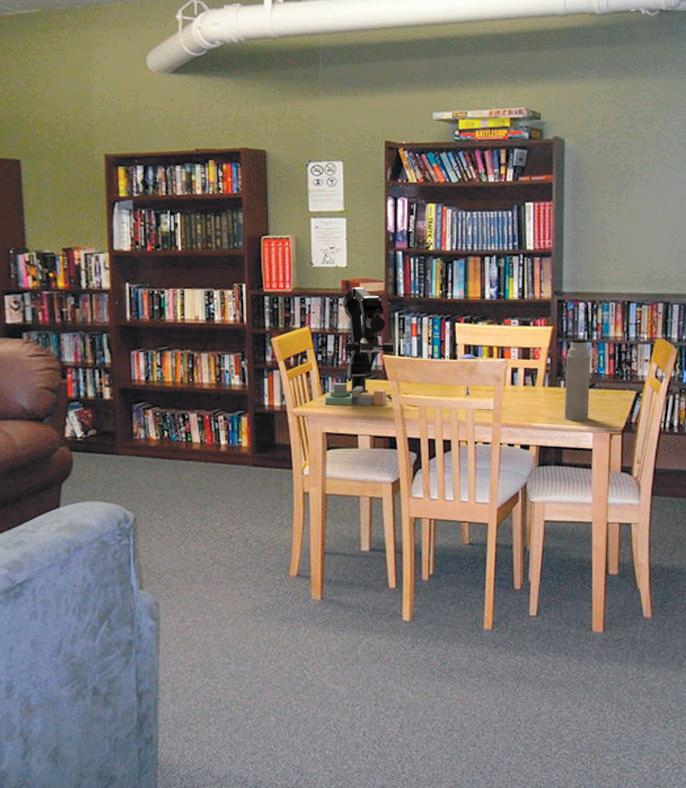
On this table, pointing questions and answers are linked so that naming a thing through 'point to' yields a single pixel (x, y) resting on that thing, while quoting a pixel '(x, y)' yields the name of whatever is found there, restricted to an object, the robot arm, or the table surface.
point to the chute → (376, 396)
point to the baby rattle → (468, 356)
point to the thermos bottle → (577, 381)
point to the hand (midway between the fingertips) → (370, 369)
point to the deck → (347, 396)
